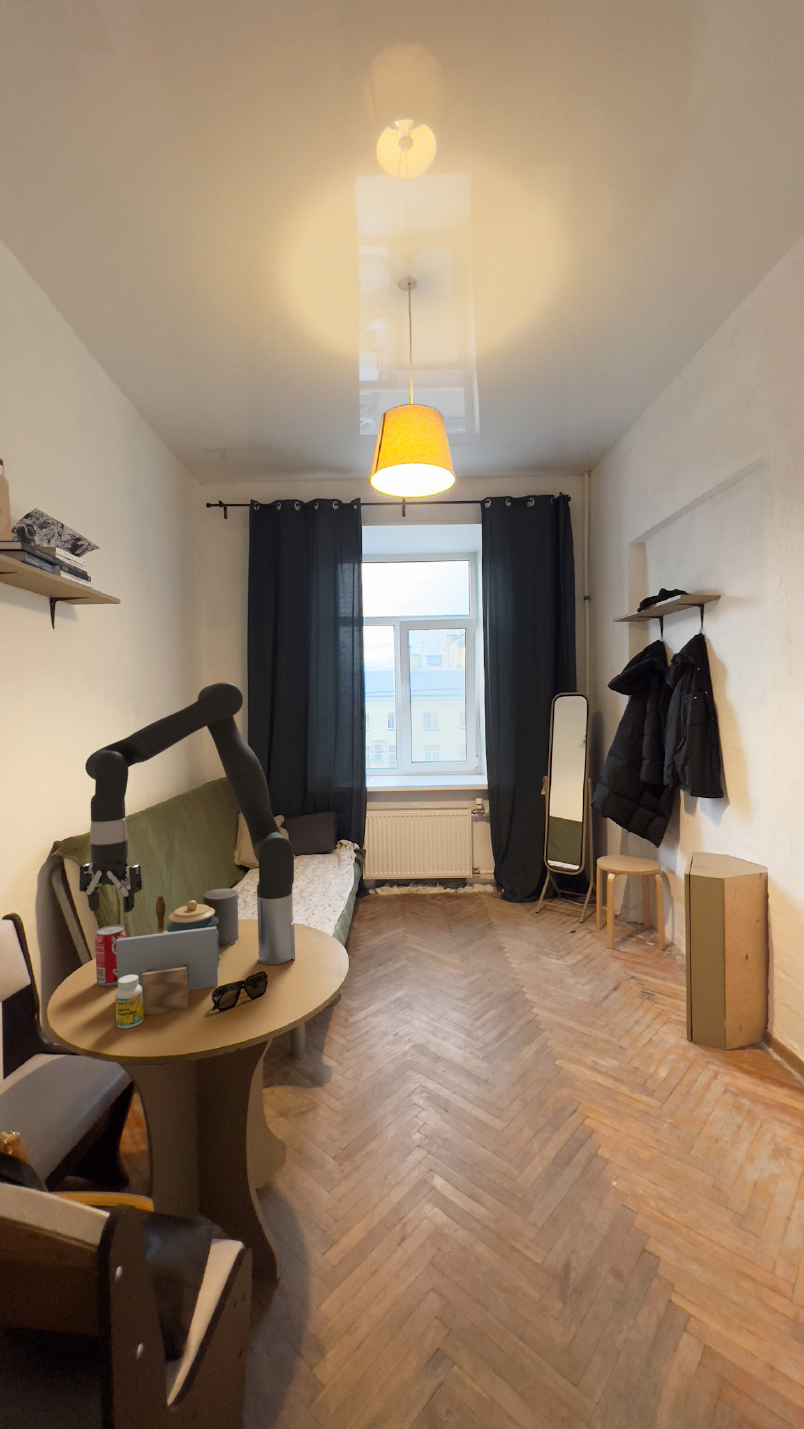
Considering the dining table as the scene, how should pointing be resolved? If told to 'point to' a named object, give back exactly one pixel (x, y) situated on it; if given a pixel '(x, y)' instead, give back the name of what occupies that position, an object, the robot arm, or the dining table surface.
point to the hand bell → (160, 914)
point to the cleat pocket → (165, 990)
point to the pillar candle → (224, 913)
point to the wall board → (171, 955)
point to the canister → (193, 919)
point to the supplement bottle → (129, 1002)
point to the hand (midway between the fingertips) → (111, 910)
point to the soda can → (107, 954)
